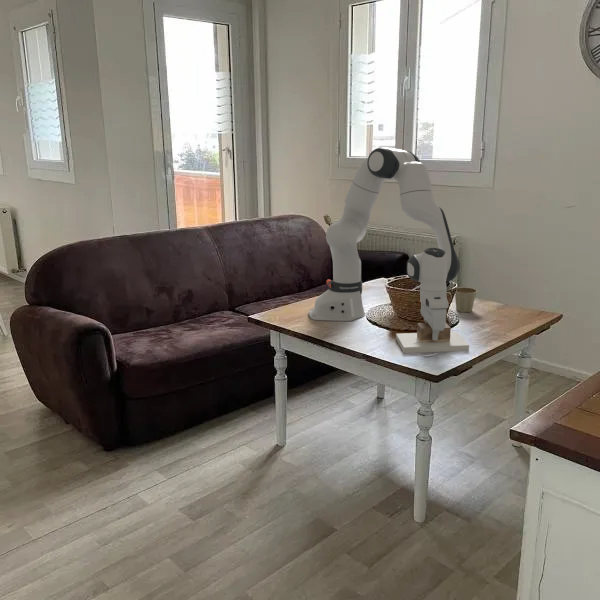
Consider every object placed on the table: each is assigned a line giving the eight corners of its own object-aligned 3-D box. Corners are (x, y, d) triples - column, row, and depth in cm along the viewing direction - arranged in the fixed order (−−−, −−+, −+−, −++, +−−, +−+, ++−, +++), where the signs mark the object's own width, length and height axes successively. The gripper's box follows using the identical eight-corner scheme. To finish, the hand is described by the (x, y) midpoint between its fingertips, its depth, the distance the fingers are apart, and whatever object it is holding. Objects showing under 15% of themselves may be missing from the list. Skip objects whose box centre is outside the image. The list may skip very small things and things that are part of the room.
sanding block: (420, 342, 209) (421, 328, 208) (416, 336, 215) (417, 323, 213) (449, 341, 209) (450, 327, 208) (445, 335, 215) (445, 322, 214)
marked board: (403, 353, 205) (404, 347, 205) (395, 338, 219) (396, 333, 218) (468, 350, 206) (469, 345, 206) (456, 336, 220) (457, 331, 219)
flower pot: (474, 307, 254) (475, 287, 251) (478, 314, 245) (479, 293, 242) (451, 307, 255) (452, 286, 252) (454, 313, 246) (455, 293, 243)
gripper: (416, 288, 217) (415, 325, 221) (430, 305, 198) (429, 345, 202) (434, 288, 218) (432, 325, 222) (450, 304, 198) (448, 344, 202)
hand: (431, 335), depth 211 cm, fingers open, 8 cm apart
